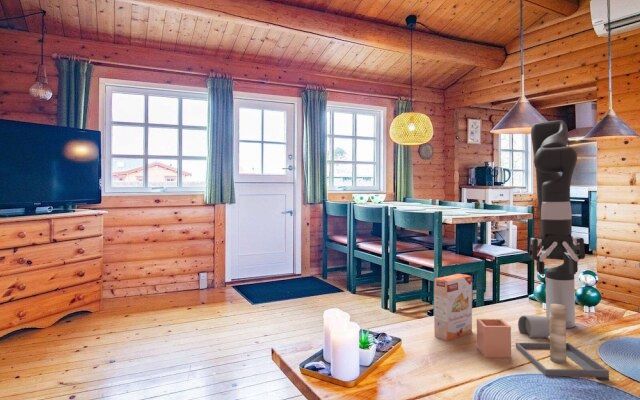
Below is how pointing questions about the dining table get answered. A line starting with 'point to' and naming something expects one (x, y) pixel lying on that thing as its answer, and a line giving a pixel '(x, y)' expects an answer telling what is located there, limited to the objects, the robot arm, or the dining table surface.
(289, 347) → the dining table surface
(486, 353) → the pink square planter
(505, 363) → the dining table surface
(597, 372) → the rectangular frame
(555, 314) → the dowel
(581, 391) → the dining table surface
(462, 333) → the cracker box
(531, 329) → the ceramic mug
